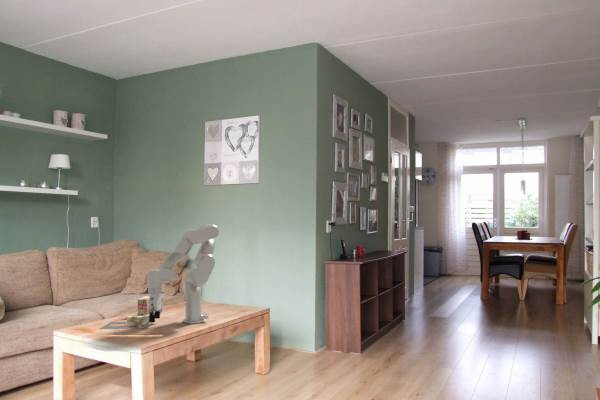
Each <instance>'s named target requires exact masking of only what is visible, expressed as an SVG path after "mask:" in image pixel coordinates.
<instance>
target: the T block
mask: <svg viewBox="0 0 600 400" xmlns="http://www.w3.org/2000/svg"><path fill="white" fill-rule="evenodd" d="M126 317H127V318H126V322H127V326H139V327H138V328H145V327H146V326H148V325H149V324H150V323H151V322H149V314H145V315H144V316H138V315H128V316H126Z"/></svg>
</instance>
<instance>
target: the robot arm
mask: <svg viewBox="0 0 600 400" xmlns="http://www.w3.org/2000/svg"><path fill="white" fill-rule="evenodd" d="M219 234H220V228H219V226H217V225H215V224H212V223H211V224H210V223H209V224H207V223H206V224H201V225H200V226H199V228H198V229H197V228H196V229H193V228H192V229H186V230H185V231H184V232H183V233H182V235H181V237H180V239H179V240H178V242H177V244H176V245H175V247H174V249H173V250H172V251H171V252H170V253H169V255H167V257H165V259H164V260H163V261H162V263H161V265H160V266H159V268H151V269H149V270H148V275H147V293H148V296H149V322H154V323H155V322H156V319H160V318H161V313H160V312H159V311H160V309H161V307H162V308H163V303H162V304H161V298H162V289H163V288H162V286H163V285H162V283H163V282H172V281H174V280H175V279H176V278H177V272H176V271H175V270H174V267H176V265H177V264H178V263H180V262H181V261H182V260H184V259H185V258H186V257H187V256H188V255H189V253H190V251H191V250H192V248H193V245H198V244H201V245H200V247H199V248H198V251H197V253H196V255H195V257H194V259H193V264H194V267H196V269H195V268H191V269H188V270H187V271H186V272H185V273H184V276H183V277H184V286H185V309H184V310H185V318H184V319H182V323H183V324H184V323H185V324H201V323H203V322H205V320H209V317H210V316H209V315H208V314H205V315H204V314H203V312H202V311H203V309H202V304H203V303H202V298H203V297H202V292H203V291H202V287H203V286H205V285H206V284H207V282H208V281H209V279H210V277H211V274H212V272H213V270H214V268H215V264H216V259H215V257H214V256H213V254H214V251H215V248H216V238H217V237H218V236H219ZM155 311H156V312H155Z"/></svg>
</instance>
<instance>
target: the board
mask: <svg viewBox="0 0 600 400" xmlns="http://www.w3.org/2000/svg"><path fill="white" fill-rule="evenodd" d="M153 324H155V322H151V323H150V324H149V325H148V326H146V327H145V328H138V327H139V326H127V321H110V322H108V323H107V324H104V326H102V327H99V329H100V330H146V329H148V328H149V327H150V326H151V325H153Z"/></svg>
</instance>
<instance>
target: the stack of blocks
mask: <svg viewBox="0 0 600 400" xmlns="http://www.w3.org/2000/svg"><path fill="white" fill-rule="evenodd" d="M161 304H162V305H163V298H162V297H161ZM155 312H156V311H155ZM159 312H160V314H161V313H162V312H163V306H162V307H161V309H160V311H159ZM145 314H149V295H144V296H142V297H140V298H137V316H144V315H145Z"/></svg>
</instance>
